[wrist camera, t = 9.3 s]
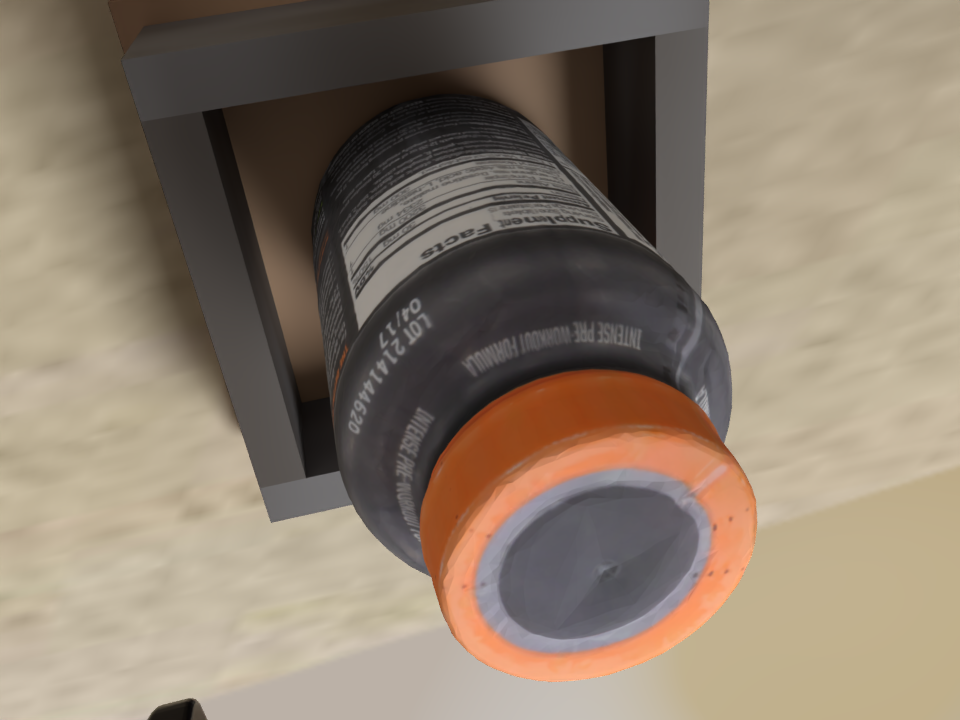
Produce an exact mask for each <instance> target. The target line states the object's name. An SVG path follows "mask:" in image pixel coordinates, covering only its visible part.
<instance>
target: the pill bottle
mask: <svg viewBox="0 0 960 720" xmlns="http://www.w3.org/2000/svg"><path fill="white" fill-rule="evenodd" d="M311 234H312V244H313V266H314V272H315V281H316V287H317V297H318V311H319V317H320V323H321V332H322V338H323V347H324V356H325V362H326V372H327V380H328V388H329V394H330V404H331V414H332V421H333V428H334V436H335V444H336V451H337V459H338V466H339V470H340V474H341V477H342V481H343V483H344V486H345V489H346V491H347V494H348V496H349V498H350V500H351V502H352V504H353V506H354V508H355V510H356V512H357V513H358V515H359V516H360V518H361V519H362V521H363V522H364V524H365V525H366V527H367V528H368V529H369V530H370V531H371V533H372V534H373V535H374V536H375V537H376V538H377V539H378V540H379V541H380V542H381V543H382V544H383V545H384V546H385V547H386V548H387V549H388V550H389V551H391V552H392V553H393V554H394V555H395V556H397V557H398V558H399V559H401V560H402V561H404V562H405V563H406V564H408V565H409V566H411V567H412V568H414V569H416V570H418V571H420V572H422V573H424V574H426V575H428V576H430V577H432V581H433V585H434V588H435V592H436V595H437V598H438V601H439V605H440V608H441V611H442V613H443V616H444V618H445V620H446V622H447V624H448V626H449V628H450V630H451V633H452V634H453V636H454V637H455V638H456V640H457V641H458V642H459V643H460V644H461V645H462V646H463V647H464V648H465V649H466V650H467V651H468V652H469V653H470V654H472V655H473V656H474V657H475V658H476V659H478V660H479V661H481V662H483V663H484V664H486V665H488V666H490V667H492V668H494V669H496V670H499V671H502V672H504V673H507V674H510V675H513V676H517V677H521V678H526V679H532V680H538V681H548V682H562V681H573V680H582V679H590V678H595V677H600V676H605V675H610V674H612V673H615V672H618V671H621V670H624V669H627V668H630V667H633V666H635V665H638V664H641V663H643V662H645V661H647V660H649V659H651V658H653V657H656V656H658V655H660V654H662V653H664V652H666V651H667V650H669V649H670V648H672V647H673V646H675V645H676V644H678V643H679V642H681V641H683V640H684V639H686V638H687V637H688V636H690V635H691V634H692V633H693V632H695V631H696V630H697V629H698V628H700V627H701V626H702V625H703V624H704V623H705V622H706V621H707V620H708V619H709V618H710V617H711V616H713V615H714V613H715V612H716V611H717V610H718V609H719V608H720V607H721V606H722V605H723V604H724V602H725V601H726V600H727V598H728V597H729V595H730V594H731V593H732V592H733V590H734V589H735V588H736V586H737V585H738V583H739V581H740V579H741V577H742V576H743V573H744V571H745V569H746V567H747V565H748V563H749V560H750V558H751V556H752V552H753V548H754V544H755V538H756V530H757V512H756V499H755V496H754V493H753V490H752V487H751V485H750V483H749V481H748V479H747V477H746V475H745V473H744V471H743V470H742V468H741V467H740V465H739V463H738V462H737V460H736V459H735V457H734V456H733V455H732V453H731V452H730V451H729V450H728V448H727V447H726V446H725V445H724V441H725V438H726V434H727V431H728V427H729V421H730V415H731V409H732V380H731V369H730V364H729V357H728V352H727V349H726V346H725V343H724V340H723V337H722V334H721V332H720V330H719V327H718V325H717V323H716V321H715V319H714V318H713V316H712V314H711V312H710V310H709V308H708V306H707V305H706V304H705V303H704V302H703V301H702V300H701V298H700V296H699V295H698V294H697V293H696V292H695V291H694V290H693V289H692V287H691V286H690V285H689V284H688V283H687V282H686V281H685V279H684V278H683V277H682V276H681V275H680V274H678V273H677V271H676V270H675V269H674V268H673V267H672V266H671V265H670V264H669V263H668V261H667V260H666V259H665V258H664V257H663V256H662V255H661V254H660V253H659V252H658V251H657V250H656V249H655V248H654V247H653V246H652V245H651V244H650V243H649V242H648V241H647V240H646V239H645V238H644V237H643V235H642V234H641V233H640V232H639V231H638V230H637V229H636V228H635V227H634V226H633V225H632V224H631V223H630V222H629V221H628V220H627V219H626V218H625V217H624V216H623V215H622V214H621V213H620V211H619V210H618V209H617V208H616V207H615V206H614V205H613V204H612V203H611V202H610V201H609V200H608V199H607V198H606V197H605V196H604V195H603V194H602V193H601V192H600V191H599V190H598V189H597V188H596V187H595V186H594V185H593V184H592V183H591V182H590V181H589V180H588V178H587V177H586V176H585V175H584V174H583V173H582V172H581V171H580V170H579V169H578V168H577V167H576V166H575V165H574V164H573V163H572V161H570V160H569V159H568V158H567V157H566V156H565V155H564V154H563V153H562V151H561V150H560V149H559V148H558V147H557V146H556V145H555V144H554V143H553V142H552V141H551V140H550V139H549V138H548V137H547V136H546V135H545V134H544V133H543V132H542V131H541V130H540V129H539V128H538V127H537V126H535V125H534V124H533V123H532V122H531V121H530V120H528V119H527V118H526V117H525V116H523V115H522V114H520V113H519V112H517V111H515V110H513V109H511V108H509V107H507V106H505V105H502V104H500V103H498V102H496V101H493V100H489V99H486V98H482V97H478V96H471V95H463V94H437V95H432V96H427V97H422V98H417V99H413V100H410V101H406V102H402V103H399V104H397V105H394V106H392V107H390V108H388V109H387V110H385V111H383V112H381V113H379V114H378V115H376V116H375V117H373V118H372V119H370V120H369V121H367V122H366V123H365V124H364V125H362V126H361V127H360V128H359V129H358V130H356V131H355V132H354V133H353V134H352V135H351V136H350V137H349V138H348V139H347V141H346V142H345V143H344V144H343V145H342V146H341V147H340V149H339V150H338V151H337V153H336V154H335V156H334V157H333V159H332V161H331V162H330V164H329V166H328V168H327V170H326V171H325V173H324V175H323V177H322V179H321V181H320V184H319V188H318V192H317V196H316V200H315V205H314V211H313V217H312V227H311Z"/></svg>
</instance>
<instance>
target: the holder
mask: <svg viewBox="0 0 960 720" xmlns="http://www.w3.org/2000/svg"><path fill="white" fill-rule="evenodd" d="M108 5H109V8H110V11H111V14H112V17H113V20H114V23H115V26H116V29H117V33H118V36H119V39H120V42H121V45H122V48H123V51H124V54H125V55H124V56H123V58H122V59H121V62H122V65H123V69H124V72H125V75H126V78H127V81H128V84H129V87H130V90H131V93H132V96H133V99H134V102H135V106H136V109H137V112H138V115H139V118H140V121H141V124H142V127H143V130H144V133H145V136H146V139H147V142H148V146H149V149H150V152H151V155H152V158H153V161H154V164H155V167H156V170H157V173H158V176H159V179H160V183H161V186H162V189H163V192H164V195H165V198H166V201H167V204H168V207H169V210H170V213H171V216H172V219H173V223H174V226H175V229H176V232H177V235H178V238H179V241H180V244H181V247H182V250H183V253H184V256H185V259H186V263H187V266H188V269H189V272H190V275H191V278H192V281H193V284H194V287H195V290H196V293H197V296H198V300H199V303H200V306H201V309H202V312H203V315H204V318H205V321H206V324H207V327H208V330H209V333H210V336H211V340H212V343H213V346H214V349H215V352H216V355H217V358H218V361H219V364H220V367H221V370H222V373H223V377H224V380H225V383H226V386H227V389H228V392H229V395H230V398H231V401H232V404H233V407H234V410H235V413H236V417H237V420H238V423H239V426H240V429H241V432H242V435H243V438H244V441H245V444H246V447H247V450H248V454H249V457H250V460H251V463H252V466H253V469H254V472H255V475H256V478H257V481H258V484H259V487H260V490H261V494H262V497H263V500H264V503H265V506H266V509H267V512H268V515H269V518H270V521H271V523H272V522H277V521H281V520H286V519H290V518H295V517H299V516H303V515H308V514H312V513H317V512H321V511H326V510H330V509H335V508H339V507H344V506H348V505H353V504H352V502H351V500H350V498H349V496H348V494H347V491H346V489H345V486H344V483H343V481H342V477H341V474H340V470H339V466H338V459H337V451H336V444H335V436H334V428H333V421H332V414H331V404H330V394H329V388H328V380H327V372H326V362H325V356H324V347H323V338H322V332H321V323H320V317H319V311H318V297H317V287H316V281H315V272H314V266H313V244H312V234H311V227H312V217H313V211H314V205H315V200H316V196H317V192H318V188H319V184H320V181H321V179H322V177H323V175H324V173H325V171H326V170H327V168H328V166H329V164H330V162H331V161H332V159H333V157H334V156H335V154H336V153H337V151H338V150H339V149H340V147H341V146H342V145H343V144H344V143H345V142H346V141H347V139H348V138H349V137H350V136H351V135H352V134H353V133H354V132H355V131H356V130H358V129H359V128H360V127H361V126H362V125H364V124H365V123H366V122H367V121H369V120H370V119H372V118H373V117H375V116H376V115H378V114H379V113H381V112H383V111H385V110H387V109H388V108H390V107H392V106H394V105H397V104H399V103H402V102H406V101H410V100H413V99H417V98H422V97H427V96H432V95H437V94H463V95H471V96H478V97H482V98H486V99H489V100H493V101H496V102H498V103H500V104H502V105H505V106H507V107H509V108H511V109H513V110H515V111H517V112H519V113H520V114H522V115H523V116H525V117H526V118H527V119H528V120H530V121H531V122H532V123H533V124H534V125H535V126H537V127H538V128H539V129H540V130H541V131H542V132H543V133H544V134H545V135H546V136H547V137H548V138H549V139H550V140H551V141H552V142H553V143H554V144H555V145H556V146H557V147H558V148H559V149H560V150H561V151H562V153H563V154H564V155H565V156H566V157H567V158H568V159H569V160H570V161H572V163H573V164H574V165H575V166H576V167H577V168H578V169H579V170H580V171H581V172H582V173H583V174H584V175H585V176H586V177H587V178H588V180H589V181H590V182H591V183H592V184H593V185H594V186H595V187H596V188H597V189H598V190H599V191H600V192H601V193H602V194H603V195H604V196H605V197H606V198H607V199H608V200H609V201H610V202H611V203H612V204H613V205H614V206H615V207H616V208H617V209H618V210H619V211H620V213H621V214H622V215H623V216H624V217H625V218H626V219H627V220H628V221H629V222H630V223H631V224H632V225H633V226H634V227H635V228H636V229H637V230H638V231H639V232H640V233H641V234H642V235H643V237H644V238H645V239H646V240H647V241H648V242H649V243H650V244H651V245H652V246H653V247H654V248H655V249H656V250H657V251H658V252H659V253H660V254H661V255H662V256H663V257H664V258H665V259H666V260H667V261H668V263H669V264H670V265H671V266H672V267H673V268H674V269H675V270H676V271H677V273H678V274H680V275H681V276H682V277H683V278H684V279H685V281H686V282H687V283H688V284H689V285H690V286H691V287H692V289H693V290H694V291H695V292H696V293H697V294H698V295H699V296H700V298H701V284H702V247H703V209H704V172H705V135H706V98H707V60H708V23H709V0H110V1H109V2H108Z"/></svg>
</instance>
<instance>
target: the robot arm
mask: <svg viewBox="0 0 960 720" xmlns="http://www.w3.org/2000/svg"><path fill="white" fill-rule="evenodd" d="M148 720H207V718H206V716H205V714H204V711H203V709H202V707H201V705H200V703H199V702H198V701H197V700H196V699H193V698H188V699H184V700H180V701H176V702H172V703H168V704H164V705H161V706H159V707H157V708H156V709H155V710H154V711H153V712H152V713H151V715H150V716H149V718H148Z"/></svg>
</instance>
